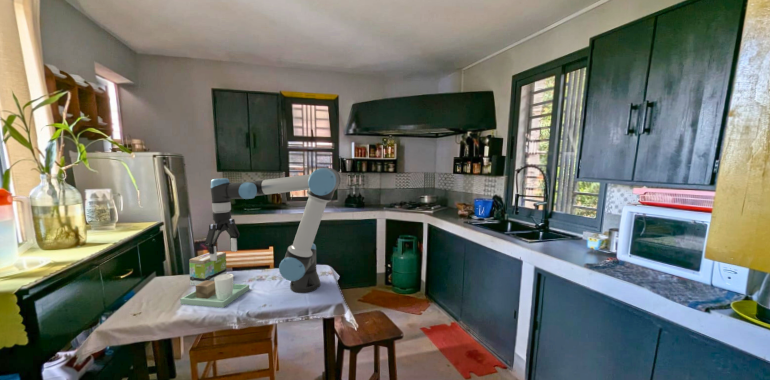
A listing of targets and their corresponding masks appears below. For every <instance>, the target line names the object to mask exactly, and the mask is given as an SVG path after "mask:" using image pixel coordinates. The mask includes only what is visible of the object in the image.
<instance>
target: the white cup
mask: <svg viewBox="0 0 770 380" xmlns="http://www.w3.org/2000/svg"><path fill="white" fill-rule="evenodd" d="M214 281H215V290H216V295H217V299H218V300H225V299H227V298H228V297H230V296H231V295H233V284H234V274H233V273H227V274H223V275H219V276H217V277H215V278H214Z"/></svg>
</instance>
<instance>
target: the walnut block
mask: <svg viewBox="0 0 770 380" xmlns="http://www.w3.org/2000/svg"><path fill="white" fill-rule="evenodd" d="M195 291H196V298H205V299H208V298H210V297H211V296H213V295H215V294H216V290H215V281H204V282H202V283H200V284H198V285H196V286H195Z"/></svg>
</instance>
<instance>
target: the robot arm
mask: <svg viewBox="0 0 770 380" xmlns="http://www.w3.org/2000/svg"><path fill="white" fill-rule="evenodd" d="M341 179H342V178H341V175H340V173H339V172H338V170H336V169H335V168H331V167H321V168H318V169H315V170H313V171H312V172H311V173H310V174H302V175H301V174H300V175H294V176H286V177H278V178H269V179H262V180H253V181H245V182H230V179H229V178H227V177H226V178H225V177H223V178H221V177H220V178H213V179H211V180H210V193H211V208H212V209H211V210H212V214H211V215H212V220H213V222H214V223H210V224H209V225H208V231H207V236H206V239H205V242H204V247H207V248H208V253H209V254H210V261H216V260H217V252H218V251H217V246H216V244H217V242H218V239H219V237H220V235H221V234H222V233H224V232H225V231H226V232H227V233H228V235H229V236H230V237H231V238H230V251H231V252H238V239H239V238H240V236H241V234H240V232H239V229H238V226H237V224H236V220H235V218H232V211H231V210H232V205H231V199H233V200H235V199H236V200H244V199H245V200H249V199H250V200H251V199H255V197H257V196H265V195H273V194H282V193H290V192H291V193H292V192H300V191H301V192H302V191H306V195H307V197H308V199H307V202H306V204H305V207H304V210H303V213H302V217H301V218H300V223H299V225H298V228H297V231H296V234H295V237H294V240H293V241H292V242H293V243H292V244H291V245H289V246H288V247H287V250H286V253H285V256H284V258H283V259H281V261H280V263H279V266H278V270H279V271H278V272H279V274H280V275H281V277H282V278H283V279H284V280H287V281H288V282H290V284H289V287H290V291H291V292H294V293H310V292H312V291H313V292H314V291H315V290H318V289H319V288H320V287H321V279H320V276H319V274H318V271H317V246H316V244H315V243H314V242H315V239H316V235H317V233H318V229H319V226H320V224H321V221H322V218H323V215H324V212H325V209H326V206H327V204H328V203H330V202H332V199H333V197H334V193H335V191H336V190H337V189H338V188H339V187H340V185H341V182H342V181H341Z"/></svg>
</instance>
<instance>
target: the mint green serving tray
mask: <svg viewBox="0 0 770 380" xmlns="http://www.w3.org/2000/svg"><path fill="white" fill-rule="evenodd" d="M249 290H250V284H243V283H233V295H231V296H230V297H228V298H227V299H225V300H218V299H217V295H216V294H215V295H213V296H211V297H210V298H208V299H205V298H196V290H193V291H192V292H190V293H188V294H186V295H185V296H183V297H180V298H179V300H180V304H181V305H188V306H199V307H200V306H201V307H212V308H225V307H226V306H228V305H229V304H230V303H232V302H233V301H235V300H237V299H238V298H240V297H241V296H242V295H243V294H245V293H247V292H248V291H249Z"/></svg>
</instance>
